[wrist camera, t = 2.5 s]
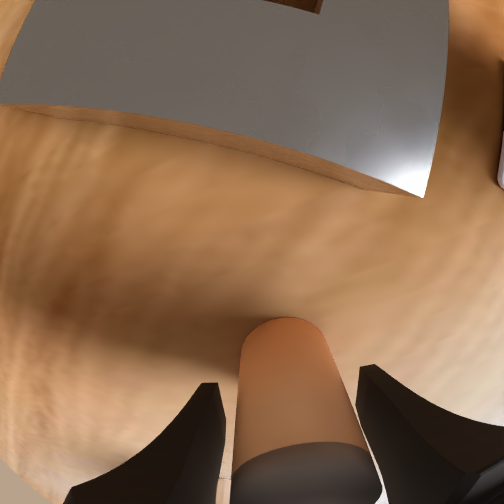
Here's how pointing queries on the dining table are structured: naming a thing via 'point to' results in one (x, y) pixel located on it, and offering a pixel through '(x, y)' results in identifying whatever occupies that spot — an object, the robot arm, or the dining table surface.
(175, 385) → the dining table surface
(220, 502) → the shot glass
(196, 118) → the block
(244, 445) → the pin
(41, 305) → the dining table surface
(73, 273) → the dining table surface
